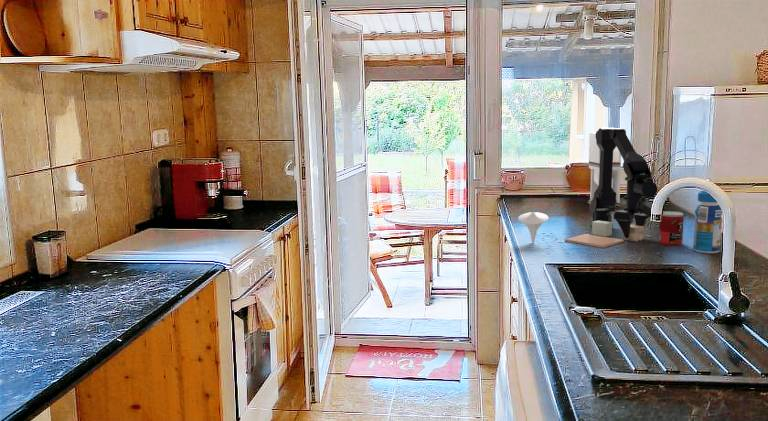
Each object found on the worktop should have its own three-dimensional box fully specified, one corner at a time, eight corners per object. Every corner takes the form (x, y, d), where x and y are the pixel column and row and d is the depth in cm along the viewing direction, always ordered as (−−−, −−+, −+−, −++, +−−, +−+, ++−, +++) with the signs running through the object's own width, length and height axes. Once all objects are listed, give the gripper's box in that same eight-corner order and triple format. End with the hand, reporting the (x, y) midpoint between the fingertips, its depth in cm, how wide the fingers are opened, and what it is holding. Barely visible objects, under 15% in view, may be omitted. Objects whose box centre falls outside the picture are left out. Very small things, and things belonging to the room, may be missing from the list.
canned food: (672, 247, 230) (673, 215, 228) (653, 243, 237) (654, 212, 235) (687, 244, 233) (688, 213, 232) (668, 240, 240) (669, 210, 239)
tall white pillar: (587, 204, 325) (589, 132, 319) (608, 203, 326) (610, 131, 320) (597, 208, 313) (599, 133, 308) (619, 207, 315) (621, 132, 309)
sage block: (591, 234, 255) (592, 221, 254) (597, 233, 257) (598, 220, 256) (606, 236, 250) (606, 223, 249) (611, 235, 253) (612, 222, 252)
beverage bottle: (688, 248, 227) (691, 190, 224) (713, 248, 227) (716, 190, 223) (699, 254, 219) (702, 194, 215) (725, 253, 218) (728, 193, 215)
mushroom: (546, 246, 236) (546, 213, 234) (515, 244, 240) (516, 212, 238) (549, 240, 246) (550, 208, 244) (520, 239, 250) (520, 207, 248)
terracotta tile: (564, 241, 244) (564, 239, 244) (585, 236, 252) (585, 233, 252) (603, 247, 232) (603, 245, 231) (623, 242, 240) (623, 239, 240)
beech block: (623, 239, 244) (623, 226, 243) (630, 237, 247) (631, 224, 246) (636, 241, 240) (636, 228, 240) (643, 239, 244) (643, 226, 243)
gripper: (642, 199, 229) (640, 243, 232) (669, 193, 241) (667, 235, 243) (613, 196, 238) (611, 238, 240) (640, 190, 249) (639, 231, 252)
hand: (633, 236), depth 244 cm, fingers open, 9 cm apart
